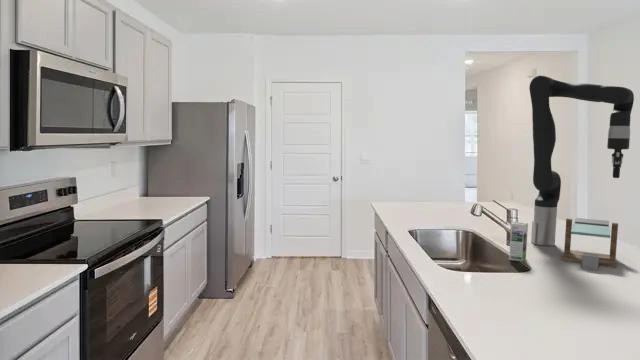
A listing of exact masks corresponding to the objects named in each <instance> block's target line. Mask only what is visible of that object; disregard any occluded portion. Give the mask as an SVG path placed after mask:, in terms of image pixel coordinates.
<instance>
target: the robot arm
mask: <svg viewBox="0 0 640 360" xmlns="http://www.w3.org/2000/svg"><path fill="white" fill-rule="evenodd" d="M529 96H530V103H531V110H532V111H531V112H532V113H531V114H532V115H531V116H532V140H533V141H532V142H533V159H534V160H533V171H532V172H533V174H532V183H533V186H534V188H535V189H536V190H538V191H539V192H538V195H537V197H536V198H535V199H534V206H533V207H534V209H533V221H532V222H531V235H530V236H531V238H530V239H531V240H530V242H531V243H532V244H534V245H539V246H549V247H551V246H555V244H556V233H557V232H556V230H557V217H558V216H557V215H558V203H559V201H560V196H561V187H562V186H561V185H562V179H561V175H560V174H559V173H558V172H557V171H555V170H552V169H553V168H552V158H553V157H552V156H553V152H554V150H555V145H556V141H557V140H556V139H557V137H556V136H557V135H556V123H555V120H554V118H553V117H554V116H553V114H552V111H551V106H550V98H568V99H575V100H579V101H584V102H585V101H586V102H593V103H604V104H611V105H613V109H612V112H611V114H610V117H609V125H608V126H609V127H608V133H607V143H606V144H607V150H614V151H613V153H612V154H611V164H612V168H613V169H612V178H613V179H619V178H620V175H621V174H620V173H621V168H622V165H623V158H624V153H623V152H622V150H629V149H630V141H631V113H632V110H633V107H634V102H635V101H634V100H635V95H634V92H633V90H631V89H630V88H627V87H624V86H613V85H602V84H593V83H583V82H582V83H575V82H573V83H572V82H571V83H570V82H565V81H560V80H556V79H553V78H551V76H550V77H548V76H546V75H536V76H535V77H533V78H532V79H531V81H530V83H529Z"/></svg>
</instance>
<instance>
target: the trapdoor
mask: <svg viewBox="0 0 640 360" xmlns="http://www.w3.org/2000/svg"><path fill="white" fill-rule="evenodd" d="M571 235H577V236H578V235H579V236H586V237H587V236H589V237H598V238H607V239H611V226H610V221H609V220H603V219H592V218H591V219H589V218H579V217H575V220H574V222H572V229H571Z"/></svg>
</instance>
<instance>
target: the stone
mask: <svg viewBox="0 0 640 360" xmlns="http://www.w3.org/2000/svg"><path fill="white" fill-rule="evenodd" d="M585 252H586V251H583V258H582V263H581V269H586V270H592V269H593V270H594V271H598V270H599V265H598V261H599V255H598V254H593V253H594V252H591V253H585Z"/></svg>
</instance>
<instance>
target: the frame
mask: <svg viewBox="0 0 640 360" xmlns="http://www.w3.org/2000/svg"><path fill="white" fill-rule="evenodd" d="M572 226H573V218H566V219H565V233H564V234H565V235H564V250H563V254H562V257H561V261H563V262H570V263H578V264H582V258H583V252H585V253H593V254H598V255H599V261H598V267H599V266H601V267H607V268H616V269H617V259H616V257H617V245H618V233H619V232H618V228H619V223H618V222H611V229H610V244H609V245H610V247H609V254H607V253H601V252H599V253H598V252H590V251H589V252H588V251H581V250H574V249H571V245H572V234H571V229H572Z"/></svg>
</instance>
